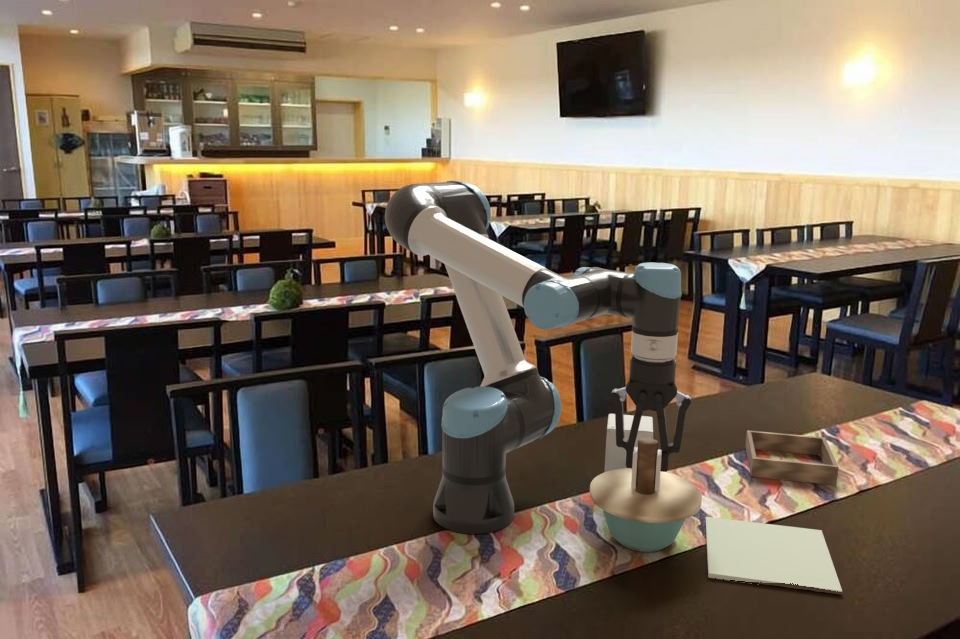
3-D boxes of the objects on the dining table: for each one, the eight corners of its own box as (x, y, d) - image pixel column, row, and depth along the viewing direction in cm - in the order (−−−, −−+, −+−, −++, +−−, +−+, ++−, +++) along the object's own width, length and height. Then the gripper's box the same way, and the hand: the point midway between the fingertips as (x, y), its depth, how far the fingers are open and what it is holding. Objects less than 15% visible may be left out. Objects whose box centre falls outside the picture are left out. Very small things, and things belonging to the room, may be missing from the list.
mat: (708, 577, 129) (708, 573, 128) (705, 520, 147) (705, 516, 147) (841, 595, 124) (842, 591, 124) (821, 534, 143) (821, 530, 143)
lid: (583, 514, 132) (585, 457, 130) (596, 468, 150) (598, 417, 147) (701, 529, 127) (706, 470, 125) (700, 480, 145) (705, 427, 143)
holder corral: (751, 476, 167) (752, 458, 166) (745, 446, 182) (746, 430, 181) (836, 485, 163) (838, 467, 162) (823, 454, 178) (825, 437, 177)
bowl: (704, 539, 141) (708, 496, 139) (658, 573, 130) (661, 527, 128) (629, 510, 151) (631, 470, 149) (579, 540, 140) (581, 497, 138)
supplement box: (649, 505, 153) (654, 432, 150) (602, 500, 155) (605, 428, 152) (649, 485, 162) (653, 415, 159) (604, 481, 164) (608, 412, 160)
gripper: (601, 358, 131) (595, 490, 137) (704, 366, 127) (694, 501, 133) (606, 347, 138) (600, 472, 144) (703, 354, 134) (693, 482, 140)
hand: (645, 486), depth 138 cm, fingers closed on lid, 3 cm apart
